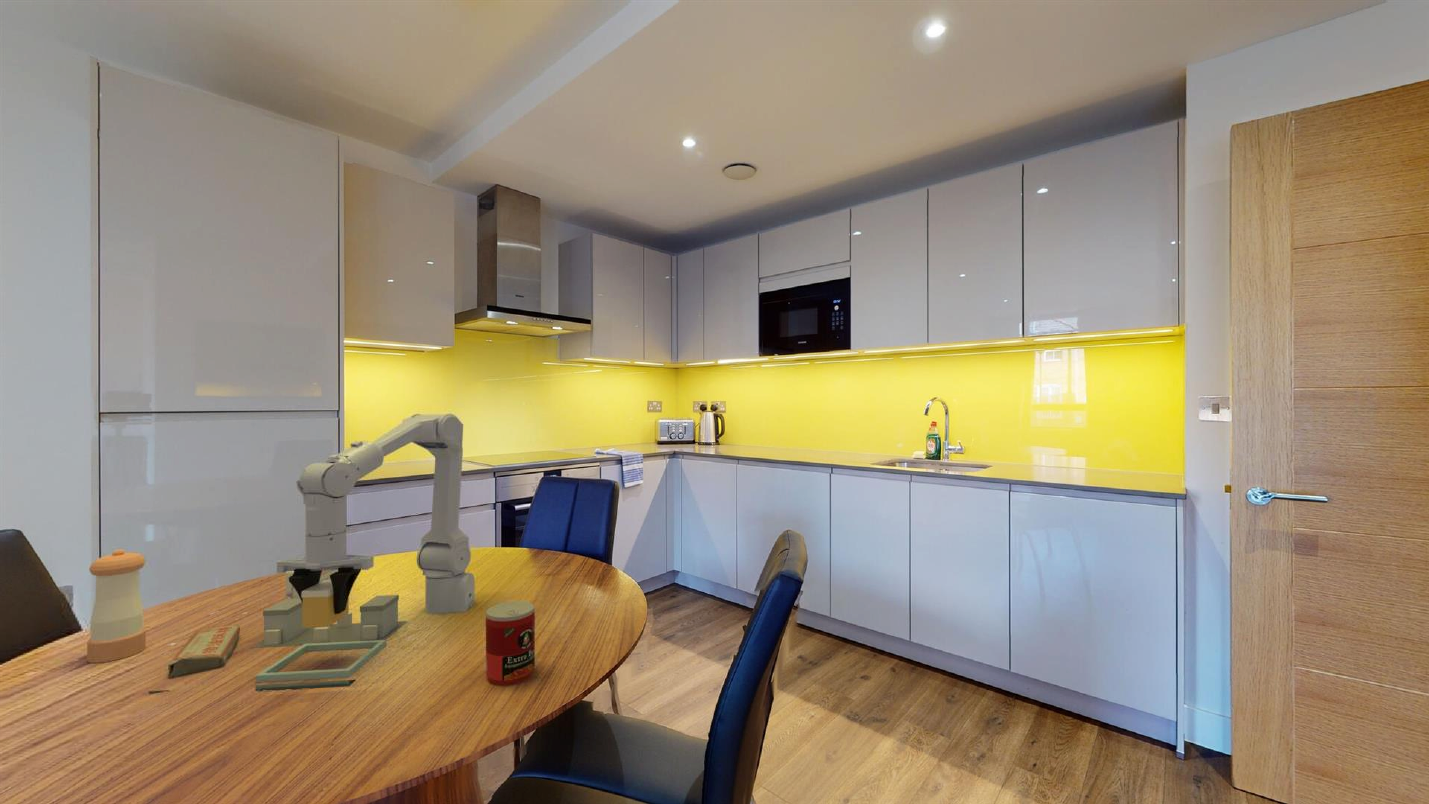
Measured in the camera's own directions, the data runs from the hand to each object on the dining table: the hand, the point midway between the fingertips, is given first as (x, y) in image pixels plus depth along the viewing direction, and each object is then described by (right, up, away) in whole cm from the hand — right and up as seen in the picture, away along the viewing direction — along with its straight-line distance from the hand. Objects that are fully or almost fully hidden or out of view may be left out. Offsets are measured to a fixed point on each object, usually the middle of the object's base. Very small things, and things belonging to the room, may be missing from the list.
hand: (325, 612), depth 93 cm
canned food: (+32, -10, -2) cm, 34 cm away
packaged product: (-23, -11, +3) cm, 26 cm away
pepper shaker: (-44, -11, +7) cm, 46 cm away
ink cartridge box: (-19, -11, +23) cm, 32 cm away
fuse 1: (-16, -9, +11) cm, 21 cm away
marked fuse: (0, -1, 0) cm, 1 cm away
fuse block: (-7, -10, +12) cm, 17 cm away
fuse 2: (+1, -9, +13) cm, 16 cm away
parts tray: (0, -10, 0) cm, 10 cm away
